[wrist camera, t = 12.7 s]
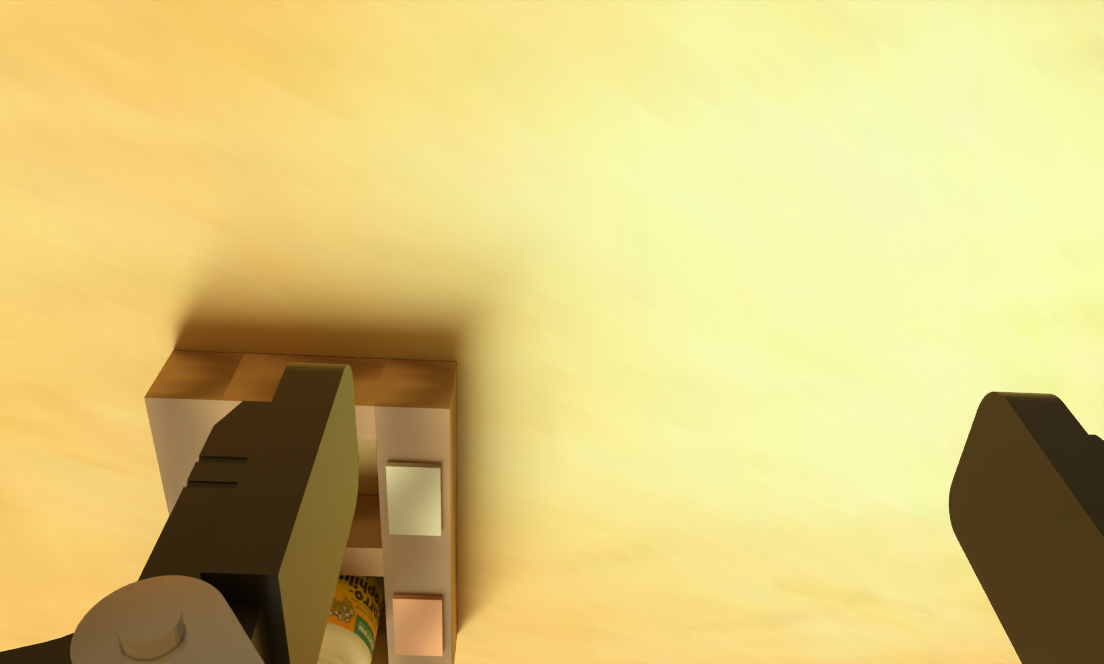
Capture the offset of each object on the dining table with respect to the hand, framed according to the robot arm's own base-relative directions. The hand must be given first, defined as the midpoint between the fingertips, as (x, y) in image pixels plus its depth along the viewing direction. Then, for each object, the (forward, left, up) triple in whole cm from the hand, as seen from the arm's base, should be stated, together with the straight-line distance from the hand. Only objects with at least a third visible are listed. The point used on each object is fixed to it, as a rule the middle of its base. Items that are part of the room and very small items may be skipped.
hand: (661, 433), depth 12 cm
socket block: (+12, +29, -30) cm, 43 cm away
